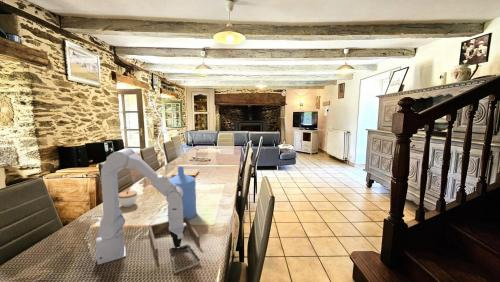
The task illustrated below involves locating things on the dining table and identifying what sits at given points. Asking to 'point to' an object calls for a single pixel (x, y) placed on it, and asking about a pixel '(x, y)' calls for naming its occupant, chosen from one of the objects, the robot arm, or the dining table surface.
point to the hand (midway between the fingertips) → (177, 246)
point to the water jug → (186, 192)
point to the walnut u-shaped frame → (165, 227)
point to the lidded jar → (127, 198)
